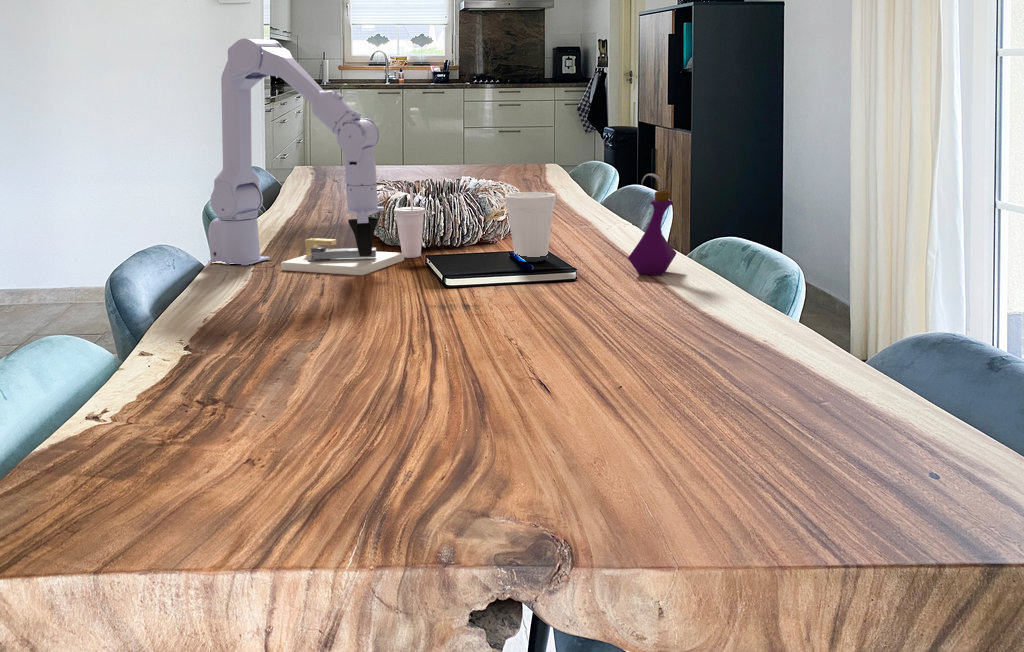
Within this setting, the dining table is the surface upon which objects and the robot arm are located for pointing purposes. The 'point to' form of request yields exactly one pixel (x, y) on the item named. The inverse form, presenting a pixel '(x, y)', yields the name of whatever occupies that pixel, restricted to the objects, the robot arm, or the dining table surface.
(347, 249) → the latch bar
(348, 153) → the robot arm
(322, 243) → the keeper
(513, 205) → the cup
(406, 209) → the smoothie
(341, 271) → the base board
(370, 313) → the dining table surface
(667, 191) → the perfume bottle
